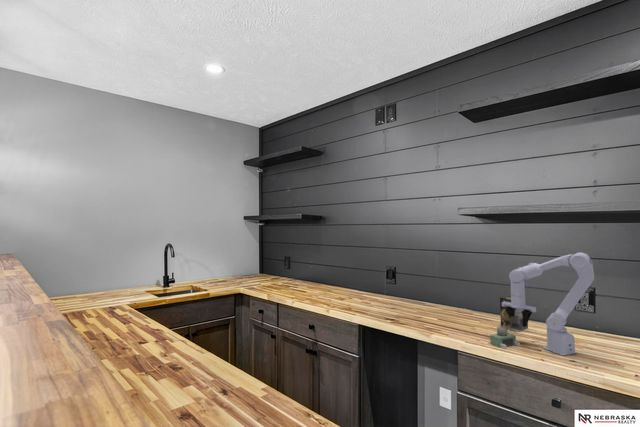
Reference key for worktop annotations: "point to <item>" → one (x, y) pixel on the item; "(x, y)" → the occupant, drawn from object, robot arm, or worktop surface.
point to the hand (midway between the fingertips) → (519, 324)
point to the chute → (517, 323)
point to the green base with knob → (503, 338)
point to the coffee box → (504, 316)
